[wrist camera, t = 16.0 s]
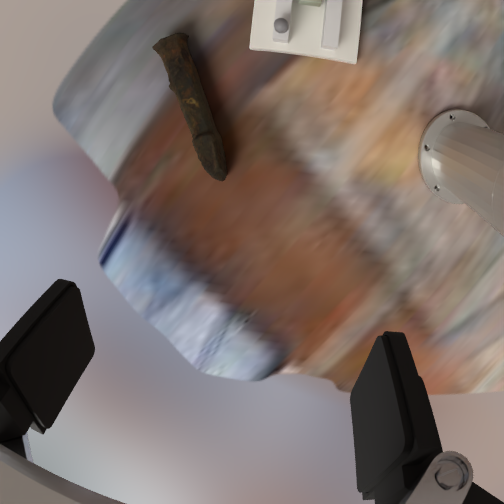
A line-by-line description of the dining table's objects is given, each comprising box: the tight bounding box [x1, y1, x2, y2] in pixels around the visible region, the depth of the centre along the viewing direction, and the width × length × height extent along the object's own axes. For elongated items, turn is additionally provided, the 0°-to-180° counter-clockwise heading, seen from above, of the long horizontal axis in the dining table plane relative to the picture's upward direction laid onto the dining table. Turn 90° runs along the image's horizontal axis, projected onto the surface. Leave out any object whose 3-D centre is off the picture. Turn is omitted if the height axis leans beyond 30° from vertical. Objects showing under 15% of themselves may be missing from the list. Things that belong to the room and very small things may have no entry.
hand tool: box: [153, 33, 227, 181], centre depth 34 cm, size 19×4×5 cm, turn 16°
